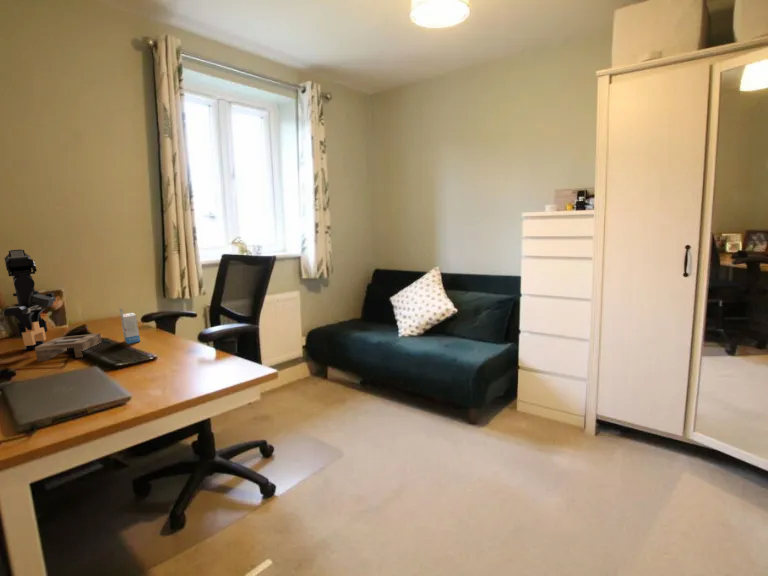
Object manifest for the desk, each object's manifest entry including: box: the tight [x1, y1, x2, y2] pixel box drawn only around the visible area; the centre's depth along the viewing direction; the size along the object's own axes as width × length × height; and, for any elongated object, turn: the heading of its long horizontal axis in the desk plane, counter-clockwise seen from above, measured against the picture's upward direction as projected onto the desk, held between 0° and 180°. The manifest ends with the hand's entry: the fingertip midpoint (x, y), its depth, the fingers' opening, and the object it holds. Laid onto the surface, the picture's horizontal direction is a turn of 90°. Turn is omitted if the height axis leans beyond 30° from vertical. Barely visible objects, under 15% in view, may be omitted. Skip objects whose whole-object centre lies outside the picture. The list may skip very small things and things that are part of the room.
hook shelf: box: [34, 333, 103, 362], centre depth 164 cm, size 14×16×6 cm
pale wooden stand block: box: [21, 322, 47, 347], centre depth 163 cm, size 8×3×8 cm, turn 9°
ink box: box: [119, 307, 141, 345], centre depth 177 cm, size 8×5×15 cm, turn 39°
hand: (32, 328), depth 163 cm, fingers closed on pale wooden stand block, 3 cm apart
